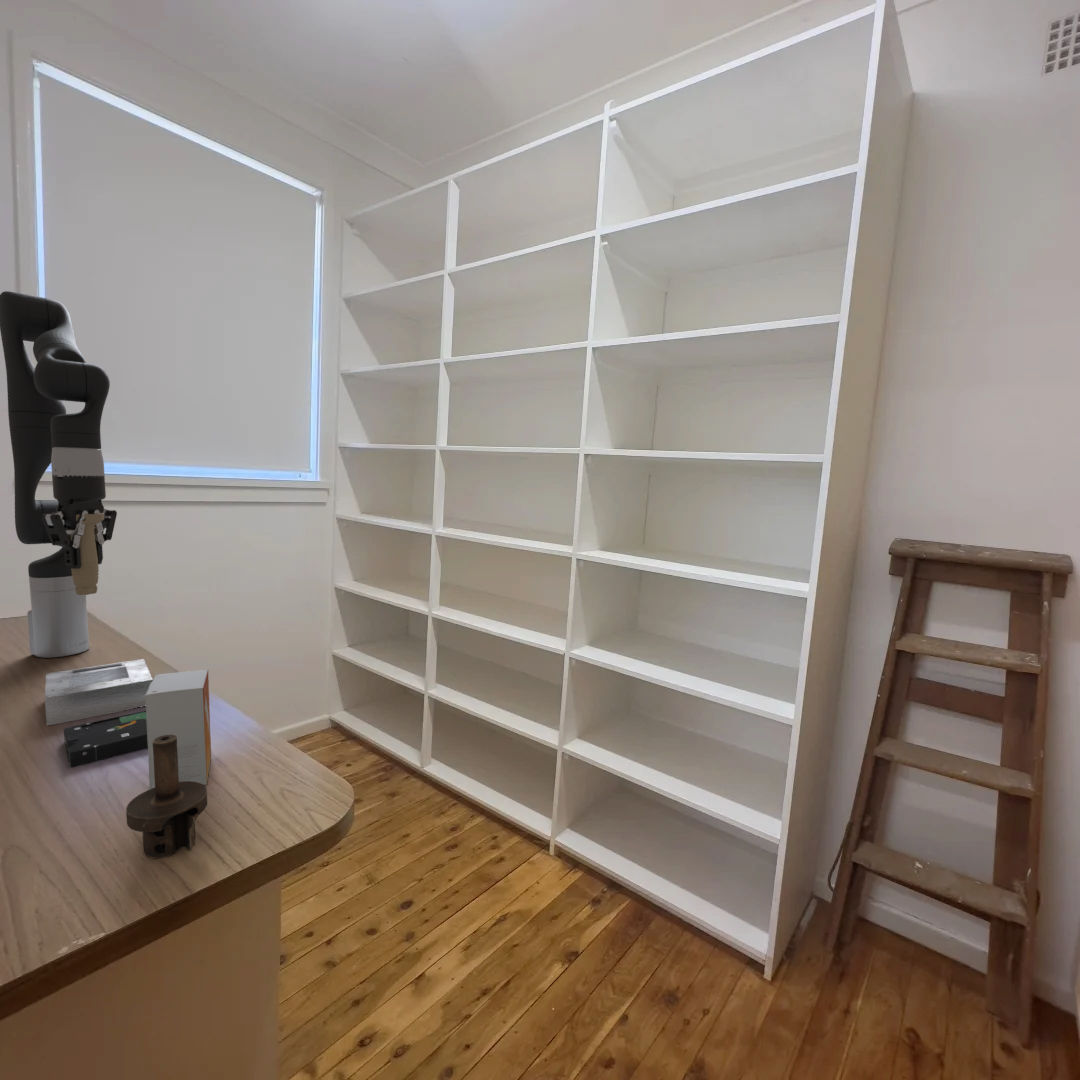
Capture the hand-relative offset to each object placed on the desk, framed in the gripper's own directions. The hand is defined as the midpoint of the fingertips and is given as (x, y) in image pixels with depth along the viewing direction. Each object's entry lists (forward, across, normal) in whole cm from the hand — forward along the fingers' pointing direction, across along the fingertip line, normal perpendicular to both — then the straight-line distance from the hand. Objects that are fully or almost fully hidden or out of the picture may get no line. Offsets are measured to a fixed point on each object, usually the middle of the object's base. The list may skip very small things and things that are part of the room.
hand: (84, 565), depth 107 cm
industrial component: (+22, +44, +48) cm, 69 cm away
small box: (+22, +30, +41) cm, 55 cm away
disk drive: (+23, +22, +26) cm, 41 cm away
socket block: (+22, +9, +10) cm, 26 cm away
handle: (+5, 0, 0) cm, 5 cm away
